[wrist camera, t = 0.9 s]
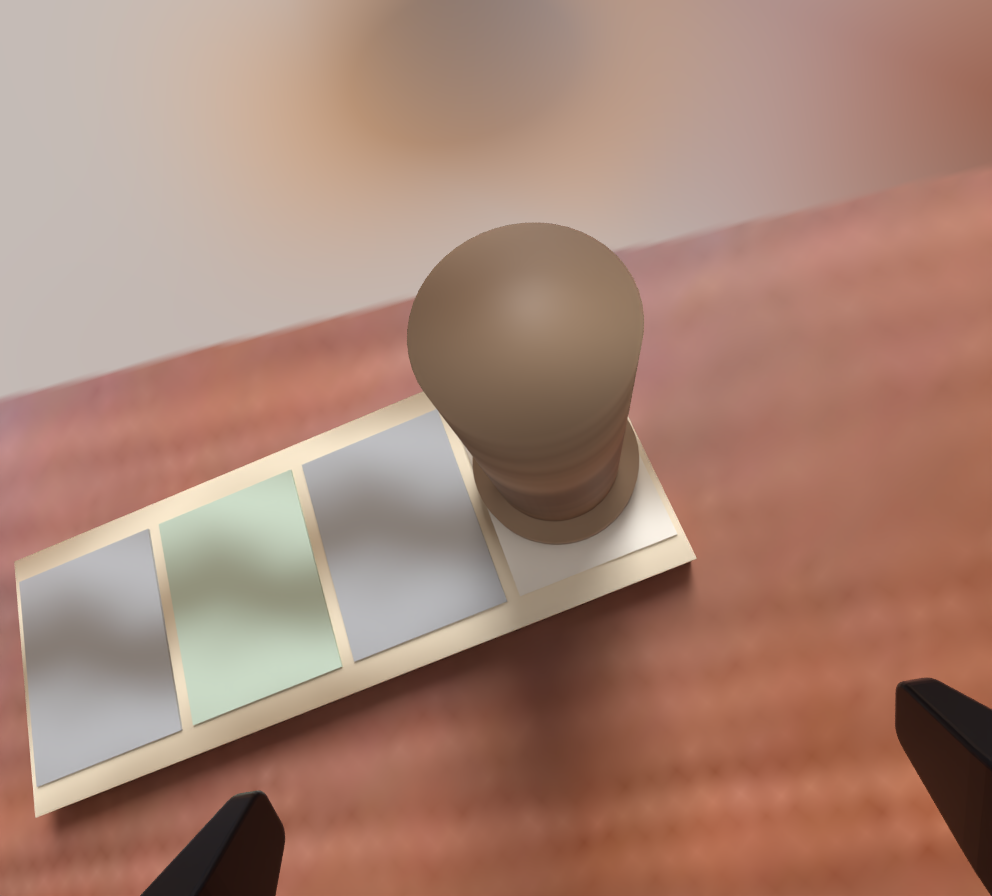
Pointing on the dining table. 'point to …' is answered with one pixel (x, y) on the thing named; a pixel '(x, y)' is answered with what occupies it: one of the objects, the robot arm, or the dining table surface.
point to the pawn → (535, 374)
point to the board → (290, 595)
